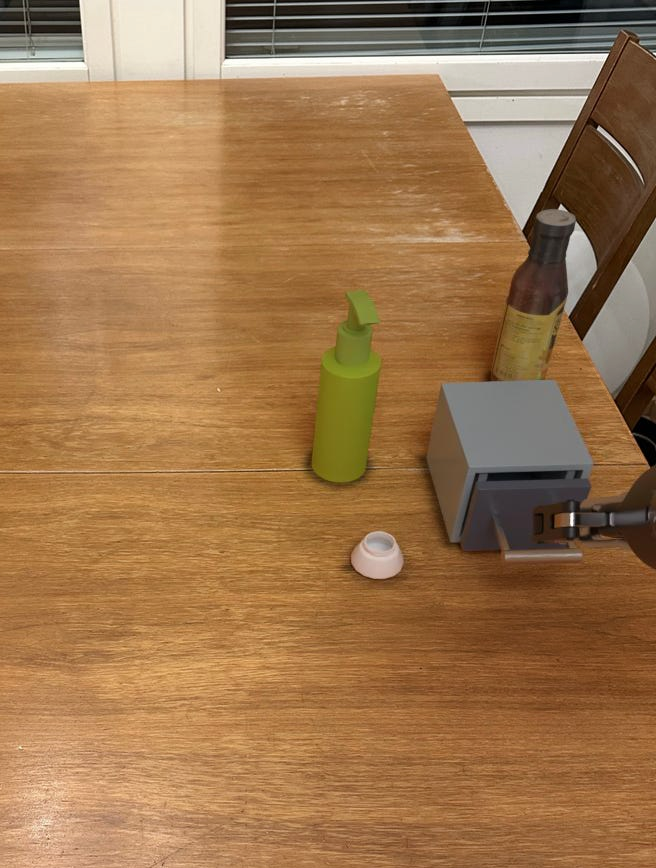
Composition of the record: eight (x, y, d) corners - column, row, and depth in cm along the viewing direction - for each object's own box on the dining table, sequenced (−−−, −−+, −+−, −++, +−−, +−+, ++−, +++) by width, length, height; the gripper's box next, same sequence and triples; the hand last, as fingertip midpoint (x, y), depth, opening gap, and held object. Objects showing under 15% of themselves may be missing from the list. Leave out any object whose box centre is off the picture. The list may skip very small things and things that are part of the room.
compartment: (587, 594, 92) (612, 532, 86) (475, 597, 92) (493, 535, 86) (536, 467, 104) (555, 405, 98) (438, 470, 104) (451, 409, 98)
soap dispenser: (321, 492, 104) (340, 321, 89) (305, 452, 108) (320, 283, 93) (375, 485, 104) (402, 314, 89) (357, 445, 109) (380, 277, 94)
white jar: (360, 540, 98) (343, 572, 96) (363, 518, 96) (346, 550, 93) (408, 554, 97) (393, 587, 94) (413, 532, 95) (397, 565, 92)
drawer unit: (566, 539, 98) (594, 463, 91) (450, 543, 98) (468, 466, 91) (532, 454, 107) (555, 379, 100) (425, 457, 107) (441, 382, 100)
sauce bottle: (548, 399, 113) (598, 232, 98) (494, 400, 113) (536, 234, 99) (533, 367, 118) (580, 203, 103) (481, 369, 118) (520, 205, 103)
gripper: (838, 447, 58) (699, 478, 74) (596, 449, 58) (510, 479, 75) (835, 573, 58) (697, 577, 75) (594, 575, 59) (509, 578, 75)
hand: (604, 528), depth 75 cm, fingers open, 8 cm apart
